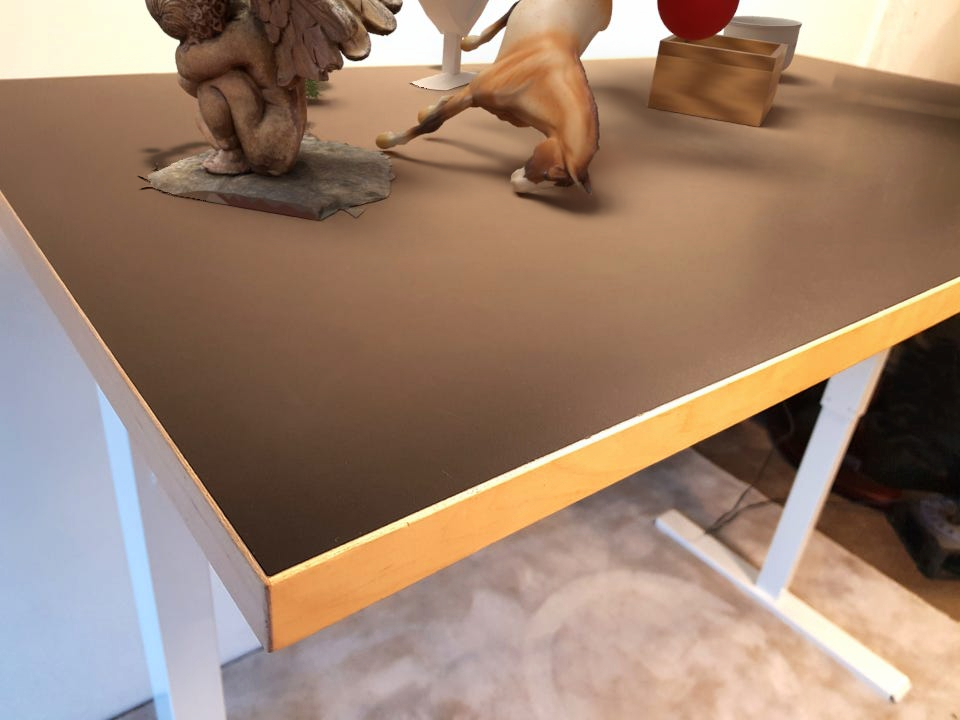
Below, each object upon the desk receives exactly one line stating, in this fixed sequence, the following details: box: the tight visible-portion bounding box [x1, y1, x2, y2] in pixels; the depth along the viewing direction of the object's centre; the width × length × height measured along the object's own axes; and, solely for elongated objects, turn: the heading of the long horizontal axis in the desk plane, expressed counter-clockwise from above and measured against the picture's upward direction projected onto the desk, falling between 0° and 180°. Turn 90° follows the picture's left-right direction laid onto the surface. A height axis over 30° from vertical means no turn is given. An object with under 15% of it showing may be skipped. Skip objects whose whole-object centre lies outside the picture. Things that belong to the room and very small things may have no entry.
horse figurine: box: [375, 0, 614, 195], centre depth 68 cm, size 31×8×21 cm
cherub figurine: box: [144, 0, 404, 222], centre depth 58 cm, size 18×18×18 cm
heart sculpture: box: [411, 0, 490, 91], centre depth 94 cm, size 16×5×18 cm, turn 153°
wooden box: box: [647, 33, 788, 128], centre depth 95 cm, size 13×13×8 cm
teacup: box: [722, 15, 803, 73], centre depth 119 cm, size 14×11×8 cm
